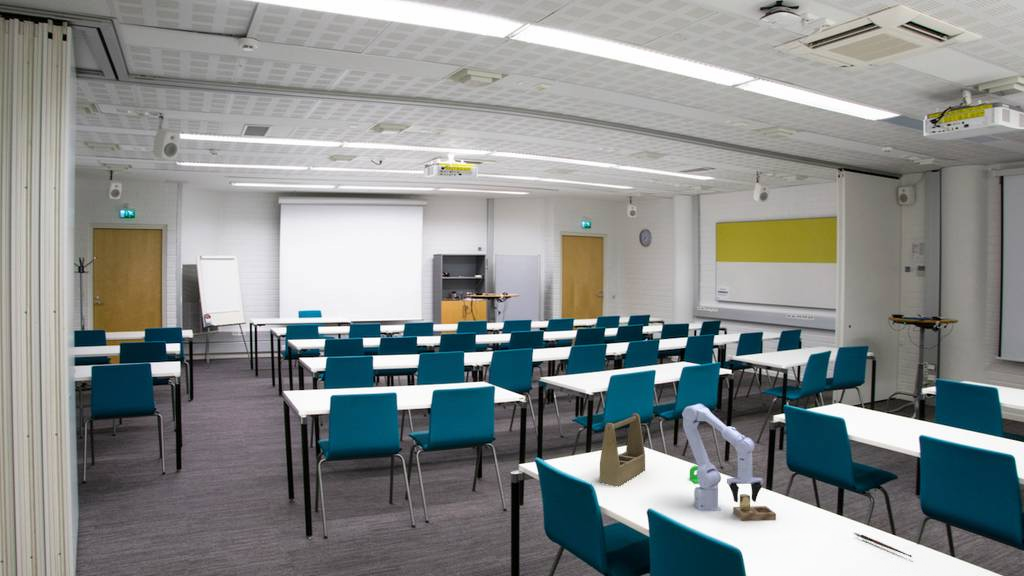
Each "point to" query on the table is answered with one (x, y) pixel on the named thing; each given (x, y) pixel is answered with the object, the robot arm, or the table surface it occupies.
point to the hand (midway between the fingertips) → (744, 501)
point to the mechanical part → (694, 477)
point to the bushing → (744, 503)
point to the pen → (879, 543)
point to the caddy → (627, 463)
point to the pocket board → (755, 513)
